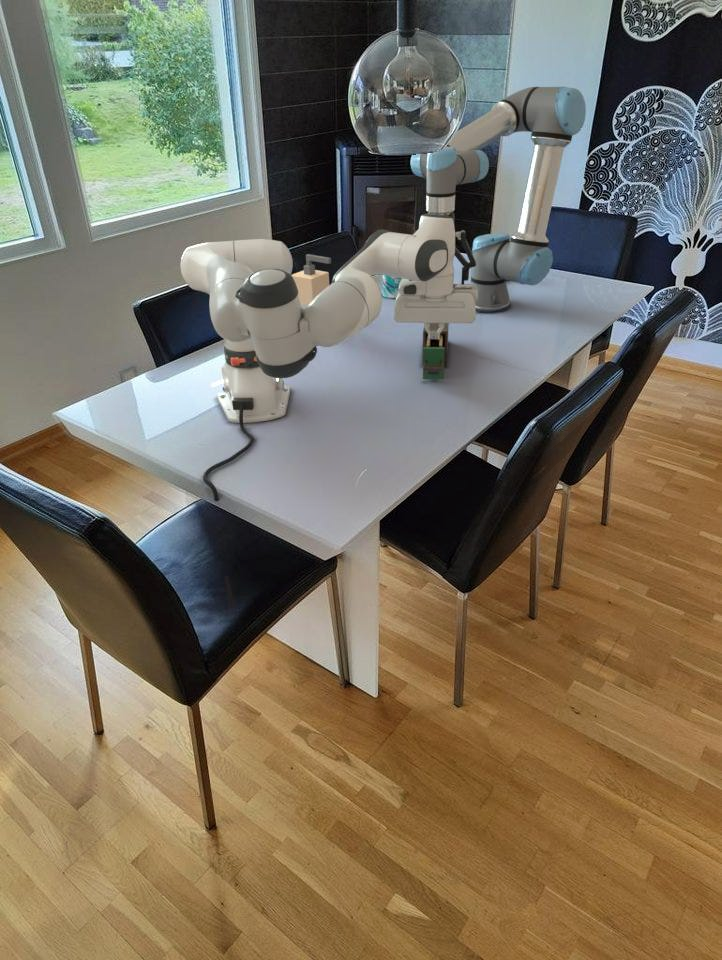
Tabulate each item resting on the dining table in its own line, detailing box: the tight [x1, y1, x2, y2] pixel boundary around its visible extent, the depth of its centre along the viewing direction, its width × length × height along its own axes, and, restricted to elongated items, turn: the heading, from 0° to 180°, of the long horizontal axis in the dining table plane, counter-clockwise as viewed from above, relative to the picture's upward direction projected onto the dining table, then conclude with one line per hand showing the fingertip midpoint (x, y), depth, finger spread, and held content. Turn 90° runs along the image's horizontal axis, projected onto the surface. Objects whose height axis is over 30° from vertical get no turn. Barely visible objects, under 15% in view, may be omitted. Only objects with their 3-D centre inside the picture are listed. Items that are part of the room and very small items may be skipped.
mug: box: [382, 275, 403, 299], centre depth 238 cm, size 8×12×8 cm
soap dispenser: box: [291, 253, 332, 306], centre depth 211 cm, size 13×9×22 cm
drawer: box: [422, 334, 445, 381], centre depth 180 cm, size 23×6×9 cm, turn 173°
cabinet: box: [422, 323, 450, 368], centre depth 191 cm, size 19×7×10 cm, turn 173°
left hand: (433, 338), depth 169 cm, fingers closed
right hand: (437, 291), depth 189 cm, fingers open, 13 cm apart
